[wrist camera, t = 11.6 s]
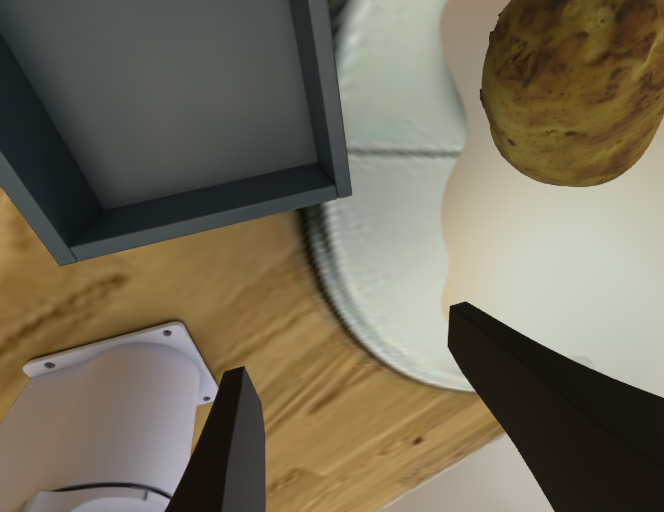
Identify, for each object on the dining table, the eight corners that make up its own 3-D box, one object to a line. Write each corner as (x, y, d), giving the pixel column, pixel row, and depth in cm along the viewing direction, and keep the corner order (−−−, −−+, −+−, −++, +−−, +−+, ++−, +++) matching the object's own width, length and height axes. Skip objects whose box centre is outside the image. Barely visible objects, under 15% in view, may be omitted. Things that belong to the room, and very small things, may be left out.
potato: (485, 217, 23) (588, 280, 16) (418, 23, 16) (549, -10, 9) (592, 147, 22) (748, 183, 15) (571, -89, 15) (839, -216, 8)
